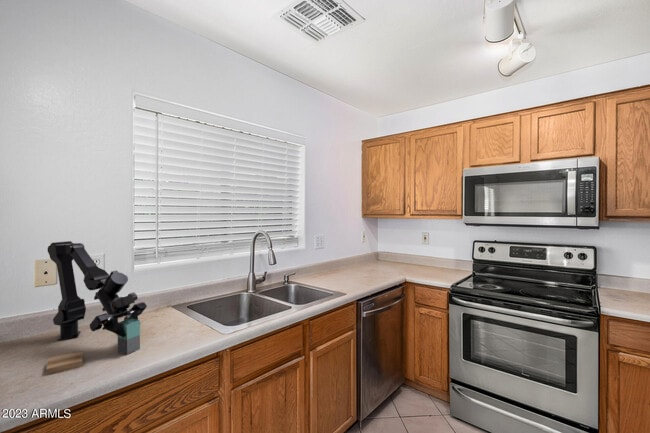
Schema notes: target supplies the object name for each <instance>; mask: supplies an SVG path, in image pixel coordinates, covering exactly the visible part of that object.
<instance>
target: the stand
mask: <svg viewBox="0 0 650 433" xmlns="http://www.w3.org/2000/svg"><path fill="white" fill-rule="evenodd" d="M83 355H84V354H83V350H79V351H74V352H70V353H65V354H61V355H58V356H53V357H49V358H48V360H47V364H46V368H45V375H46V376H49V375H53V374H58V373H61V372H64V371H69V370H74V369H78V368H82V367H83V359H84V358H83Z"/></svg>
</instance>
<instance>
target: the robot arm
mask: <svg viewBox="0 0 650 433" xmlns="http://www.w3.org/2000/svg"><path fill="white" fill-rule="evenodd" d="M47 253H48V255H49V259H50V260H51V261H53V263H55V265H56V269H57V277H58V281H59V289H60V294H61V300H60V302H59V304H58V306H57V313H56V315H55V316H54V317H53V319H52V321H53V322H52V323H53V325H55V326H59V329H60V330H59V331H60V333H59V336H58V338H57V341H63V340H71V339H76V338H78V337H79V336H80V334H81V330H79V321H81V320H84V319H85V316H86V311H87V307H86V303H85V302H86V301H85V299H84V298H81V297H80V296H78V291H77V285H76V279H75V273H74V266H73V261H74V262H75V264H76V265H77V267H78V268H79V269H80V271H81V273H82V274H83V276H84V277H83V283H84V285H85V287H86V289H87V290H89V291H97V290H98V291H97V292H95V295H94V297H93V299H94V300H95V301H96V300H98V301H99V302H100V304H101V305H102V309H101V310H102V312H106V313H103V314H102V313H101V314H99V315H96V316H95V317H94V318H93V319H92V321H91V323H90V324H89V329H90V330H91V332H95V331H98V330H101V329H102V330H103V331H105V330H106V331H108V332H112V333H114V334H115V335H117V336H118V335H119V336H121V337H125V333H124V331H123V329H122V328H121V326H120V325H119V323H118V322H119V319H121V318H125V317H126V316H127V317H128V319H130V318H131V319H137V320H139V316H140V315H142V314H143V312H144V311H145V310H146V309H147V307H148V305H147V304H146V303H145V302H143V301H140V302H138V303H136V302H135V301H137V300H138V298H139V297H138V295H137V294H136V292H134V291H133V292H130V293H128V294H127V295H125V296H119V294H118V293H120V292H121V291H122V289H123V288H124V286H125V285H126V284H127V283H128V281H129V277H128V275H127V274H124V273H123V272H119V271H118V270H116V269H115V270H112V271H110V273H108V272H107V271H106V270H105V269H103V268H101V267H98V264H96V263H95V261H94V259H93V258H92V257H91V256H90V254H89V253H88V251H87V250H86V248H85V245H84V243H81V242H80V243H79V242H78V243H77V242H75V243H74V242H73V241H71V240H68V241H56V242H51V243H50V245H48V247H47ZM132 304H134V305H132ZM130 305H132V307H131V306H130ZM130 307H131V308H130Z"/></svg>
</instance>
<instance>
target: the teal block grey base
mask: <svg viewBox="0 0 650 433" xmlns="http://www.w3.org/2000/svg"><path fill="white" fill-rule="evenodd" d="M140 322H141V321H140V319H138V320H137V319H131V318H130V319H127V320H124V319H123V320H121V321H118V323H119V325H120V326H121V328H122V329H123V331H124V333H125V337H121V336H119V335H117V354H123V355H130V354H132V353H134V352H136V351H139V350H140V349H141V323H140Z"/></svg>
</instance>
